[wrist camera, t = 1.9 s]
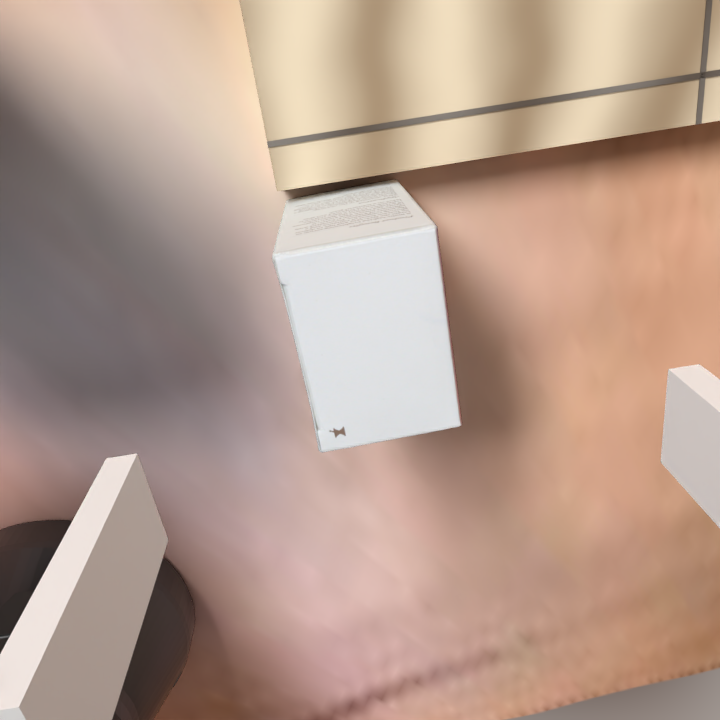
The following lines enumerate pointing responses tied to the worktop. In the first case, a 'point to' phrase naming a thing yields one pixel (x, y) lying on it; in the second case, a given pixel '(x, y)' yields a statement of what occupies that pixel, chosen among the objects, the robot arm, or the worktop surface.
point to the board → (470, 78)
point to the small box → (368, 314)
